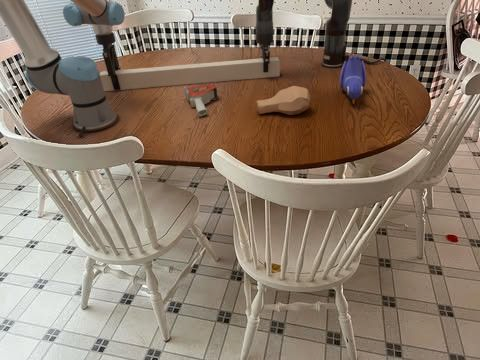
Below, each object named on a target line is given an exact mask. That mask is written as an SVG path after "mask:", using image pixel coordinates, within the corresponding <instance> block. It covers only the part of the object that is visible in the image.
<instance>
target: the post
mask: <svg viewBox="0 0 480 360" xmlns="http://www.w3.org/2000/svg"><path fill="white" fill-rule="evenodd" d="M265 61H267V59H265ZM115 72H116V75H117V77H118V81H119V85H120V90H119V91H125V90H137V89H148V88H159V87H173V86H184V85H195V84H209V83H218V82H220V83H221V82H229V81H230V82H231V81H241V80H252V79H253V80H254V79H264V78H265V79H266V78H277V77H281V60H280V58H279V56H274V57H273V56H272V57H270V63H269V64H268V72H264V71H263V59H262V58H261V57H259V58H251V59H249V58H248V59H239V60H238V59H237V60H225V61H214V62H200V63H189V64H188V63H187V64H178V65H177V64H176V65H166V66H165V65H164V66H154V67H141V68H130V69H121V70H116V71H115ZM99 74H100V78H101V81H102V85H103V89H104V92H113V91H114V92H115V90H114V88H113V84H112V80H111V77H110V76H108V72H107V70H103V71H100V72H99Z"/></svg>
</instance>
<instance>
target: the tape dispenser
mask: <svg viewBox="0 0 480 360" xmlns="http://www.w3.org/2000/svg"><path fill="white" fill-rule="evenodd" d="M205 87H206V88H205ZM200 88H205V89H202V90H200ZM183 91H184V95H185V98H187V101H188V102H189V103H190V106H191V107H192V108H195V109H196V115H197V116H198V117H203V116H207V114H208V112H209V111H208V109H207V108H206V106H205V105H207V104H209V103H210V102H211V100H212V101H214V100H217V98H218V90H217V85H216V83H215V82H211V83H204V84H199V85H194V86H184V87H183Z"/></svg>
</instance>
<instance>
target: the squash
mask: <svg viewBox="0 0 480 360" xmlns="http://www.w3.org/2000/svg"><path fill="white" fill-rule="evenodd" d="M311 98H312V97H311V95H310V90H309V89H307V88H306V87H302V86H298V85H292V86H289V87H287V88H283V89H280V90H279V91H277V92H276V94H275V95H274V96H272V97H271V98H265V99H257V100H256V102H255V103H256V107H257V109H256V110H257V113H258V114H259V115H263V114H266V113H273V112H275V113H282V114H284V115H287V116H295V115H300V114H301V113H303V112H305V111H306V110H308V109H309V107H310V102H311Z"/></svg>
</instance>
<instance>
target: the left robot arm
mask: <svg viewBox="0 0 480 360" xmlns="http://www.w3.org/2000/svg"><path fill="white" fill-rule="evenodd" d="M70 1H71V2H70V3H68V4H65V5H64V6H63V8H62V15H63V18H64V20H65V21H66V23H67V24H68V25H70V26H72V27H81V26H82V25H91V26H92V30H93V33H94V34H95V41H96V44H97V45H100V46H102V53H101V55H102V57H103V60H104V64H105V67H106V71H107V72H108V76H110V77H111V80H112V84H113V88H114V91H121V90H120V85H119V81H118V77H117V75H116V72H115V71H116V70H122V69H121V68H122V67H120V63H119V62H120V61H119V59H118V55H117V51H116V46H115V43H116V35H115V33H114V32H113V31H114V29H113V27H114V26H120V25H122V24H123V23H124V20H125V15H126V13H125V9H124V8H123V6H122V5H121V4H120V3H119V2H115V1H108V0H70ZM0 19H1V20H2V22H3V23H4V26H5V27H6V29H7V30H8V31H9V33H10V34H11V36H12V38H13V39H14V41H15V43H16V44H17V46H18V47H19V49H20V51H21V52H22V54H23V56H24V57H25V59H24V62H23V63H24V66H25V68H24V70H25V78H26V80H27V82H28V84H29V85H30V86H31V87H32V88H33V89H35V90H36V91H38V92H41V93H44V94H50V95H51V94H55V95H62V96H69V99H70V101H71V104H72V108H73V114H72V117H73V118H72V119H73V125H74V128H75V129H76V131H78V132H79V134H78V135H77V136H78V137H80V138H81V137H82V135H83V133H92V132H99V131H102V130H105V129H107V128H110V127H111V126H113V125H115V124H116V122H117V121H118V116H117V113H116V111H115V110H114V108H113V107H112V105H111V103H110V102H109V101H108V99H107V96H106V91H104V89H103V85H102V81H101V78H100V71H99V69H98V66H97V64H96V62H95V60H93V59H92V58H90V57H87V56H82V55H77V56H74V55H73V56H67V57H64V58H62V57H61V54H60V53H59V51H58V49H55V48H52V47H51V46H50V44H49V42H48V40H47V38H46V36H45V35H44V33H43V32H42V30H41V28H40V26H39V24H38V23H37V21H36V18H35V17H34V15H33V13H32V12H31V10H30V8H29V7H28V5H27V3H26V1H25V0H0Z"/></svg>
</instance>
